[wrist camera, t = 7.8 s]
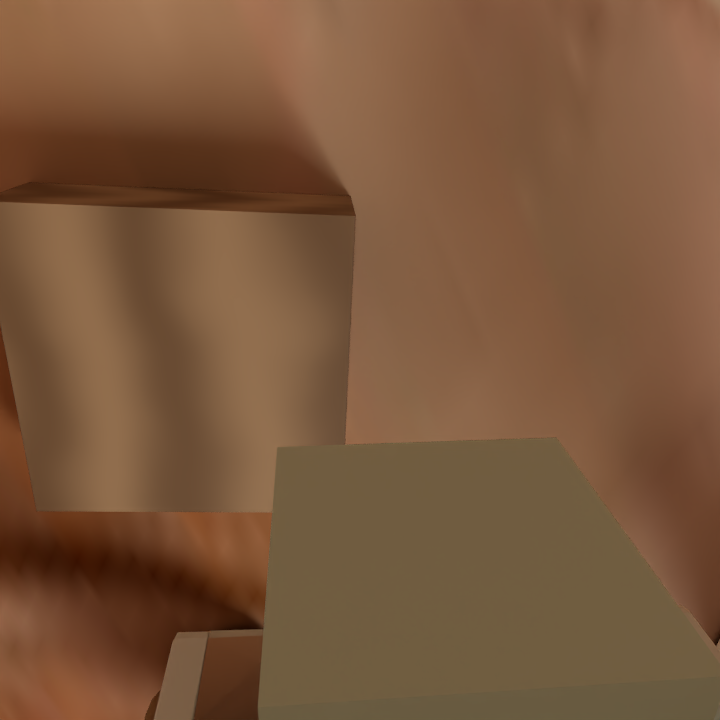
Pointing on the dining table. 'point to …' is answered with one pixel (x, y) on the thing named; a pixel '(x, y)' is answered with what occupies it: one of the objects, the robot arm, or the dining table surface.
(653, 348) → the dining table surface
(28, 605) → the dining table surface
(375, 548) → the sage cube
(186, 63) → the dining table surface
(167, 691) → the robot arm
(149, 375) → the walnut base block
